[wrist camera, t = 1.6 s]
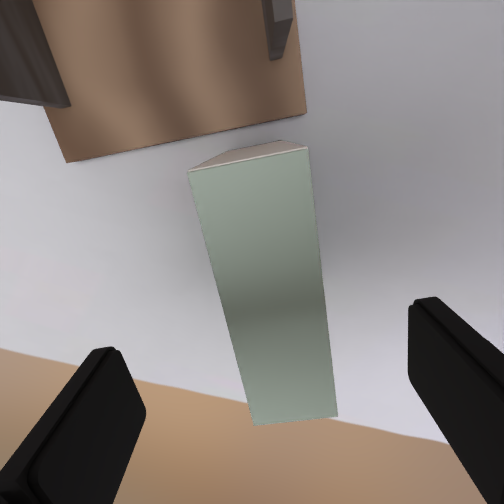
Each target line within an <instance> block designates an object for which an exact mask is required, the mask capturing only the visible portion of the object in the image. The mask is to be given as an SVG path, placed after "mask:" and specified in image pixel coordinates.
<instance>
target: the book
mask: <svg viewBox="0 0 504 504" xmlns="http://www.w3.org/2000/svg"><path fill="white" fill-rule="evenodd" d="M187 175H188V179H189V182H190V186H191V190H192V194H193V198H194V201H195V205H196V209H197V213H198V216H199V220H200V224H201V228H202V232H203V235H204V239H205V243H206V247H207V250H208V254H209V258H210V262H211V265H212V269H213V273H214V277H215V281H216V284H217V288H218V292H219V296H220V299H221V303H222V307H223V311H224V315H225V318H226V322H227V326H228V330H229V333H230V337H231V341H232V345H233V349H234V352H235V356H236V360H237V364H238V367H239V371H240V375H241V379H242V383H243V386H244V390H245V394H246V398H247V401H248V405H249V409H250V413H251V416H252V420H253V424H254V426H256V425H265V424H274V423H283V422H293V421H301V420H311V419H320V418H329V417H338V412H337V403H336V394H335V385H334V376H333V367H332V358H331V349H330V340H329V331H328V323H327V314H326V305H325V296H324V287H323V278H322V269H321V260H320V251H319V242H318V234H317V225H316V216H315V207H314V198H313V189H312V180H311V171H310V162H309V153H308V147H307V146H303V145H298V144H294V143H290V142H286V141H282V140H280V141H275V142H270V143H265V144H260V145H255V146H250V147H245V148H240V149H235V150H230V151H227V152H225V153H223V154H221V155H219V156H216V157H214V158H212V159H210V160H208V161H206V162H204V163H202V164H200V165H198V166H196V167H194V168H192V169H190V170H188V173H187Z"/></svg>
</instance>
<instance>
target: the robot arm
mask: <svg viewBox="0 0 504 504" xmlns="http://www.w3.org/2000/svg"><path fill="white" fill-rule="evenodd" d="M408 376H409V380H410V382H411V384H412V386H413V387H414V389H415V390H416V392H417V394H418V395H419V397H420V398H421V400H422V402H423V403H424V405H425V406H426V408H427V409H428V411H429V413H430V414H431V416H432V417H433V419H434V420H435V422H436V424H437V425H438V427H439V428H440V430H441V431H442V433H443V435H444V436H445V438H446V439H447V441H448V443H449V444H450V446H451V447H452V449H453V450H454V452H455V453H456V455H457V457H458V458H459V460H460V461H461V463H462V465H463V466H464V468H465V469H466V471H467V473H468V474H469V475H470V477H471V479H472V480H473V482H474V484H475V485H476V486H477V488H478V490H479V491H480V493H481V494H482V496H483V498H484V499H485V501H486V502H487V504H504V354H503V353H502V352H501V351H500V350H498V349H497V348H496V347H495V346H494V345H493V344H492V343H490V342H489V341H488V340H486V339H485V338H483V337H482V336H481V335H480V334H479V333H478V332H477V331H475V330H474V329H473V328H472V327H471V326H470V325H469V324H468V323H466V322H465V321H464V320H463V319H462V318H461V317H460V316H458V315H457V314H456V313H455V312H454V311H453V310H452V309H450V308H449V307H448V306H447V305H446V304H445V303H444V302H442V301H441V300H440V299H439V298H437V297H428V298H422V299H416V300H415V301H414V303H413V305H410V306H409V308H408ZM145 418H146V408H145V406H144V403H143V401H142V399H141V397H140V394H139V392H138V390H137V388H136V385H135V383H134V381H133V379H132V377H131V374H130V372H129V370H128V368H127V365H126V363H125V361H124V359H123V356H122V354H121V352H120V351H119V350H116V349H115V348H114V347H104V348H98V349H94V350H92V351H91V352H90V354H89V355H88V356H87V358H86V359H85V360H84V362H83V363H82V364H81V366H80V367H79V368H78V370H77V371H76V372H75V373H74V375H73V376H72V377H71V379H70V380H69V381H68V383H67V384H66V385H65V387H64V388H63V390H62V391H61V392H60V394H59V395H58V396H57V397H56V399H55V400H54V401H53V402H52V404H51V405H50V406H49V408H48V409H47V410H46V412H45V413H44V414H43V416H42V417H41V418H40V420H39V421H38V422H37V424H36V425H35V426H34V427H33V429H32V430H31V431H30V433H29V434H28V435H27V437H26V438H25V439H24V441H23V442H22V443H21V445H20V446H19V448H18V449H17V450H16V451H15V452H14V454H13V455H12V456H11V458H10V459H9V460H8V462H7V463H6V464H5V466H4V467H3V468H2V470H1V471H0V504H113V502H114V499H115V497H116V494H117V491H118V489H119V486H120V484H121V481H122V478H123V476H124V473H125V471H126V468H127V465H128V463H129V460H130V457H131V455H132V452H133V450H134V447H135V444H136V442H137V439H138V437H139V434H140V432H141V429H142V426H143V424H144V421H145Z"/></svg>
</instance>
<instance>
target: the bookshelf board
mask: <svg viewBox="0 0 504 504" xmlns="http://www.w3.org/2000/svg"><path fill="white" fill-rule="evenodd" d="M0 100H1V101H9V102H16V103H24V104H31V105H38V106H43V107H44V109H45V112H46V114H47V117H48V119H49V122H50V124H51V127H52V129H53V131H54V134H55V136H56V139H57V141H58V144H59V146H60V149H61V151H62V153H63V156H64V158H65V161H66V163H70V162H77V161H82V160H87V159H92V158H97V157H101V156H106V155H111V154H116V153H121V152H125V151H130V150H135V149H140V148H145V147H149V146H154V145H159V144H164V143H168V142H173V141H178V140H183V139H188V138H192V137H197V136H202V135H207V134H212V133H216V132H221V131H226V130H231V129H236V128H240V127H245V126H250V125H255V124H260V123H264V122H269V121H274V120H279V119H284V118H288V117H293V116H298V115H303V114H305V113H307V110H306V100H305V91H304V82H303V73H302V64H301V55H300V45H299V36H298V27H297V18H296V9H295V0H0Z"/></svg>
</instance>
